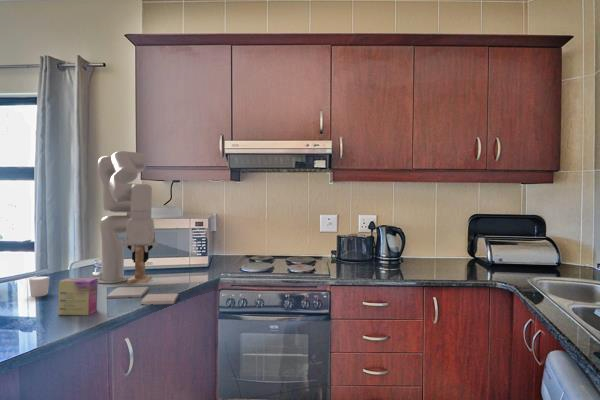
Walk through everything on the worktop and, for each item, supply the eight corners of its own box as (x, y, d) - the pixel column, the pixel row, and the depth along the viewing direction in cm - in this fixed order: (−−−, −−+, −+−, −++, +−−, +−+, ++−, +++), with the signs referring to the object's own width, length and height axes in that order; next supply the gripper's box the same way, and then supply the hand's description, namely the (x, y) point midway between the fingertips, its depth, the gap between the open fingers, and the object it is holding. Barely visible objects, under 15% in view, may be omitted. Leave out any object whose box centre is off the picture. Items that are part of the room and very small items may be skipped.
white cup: (46, 291, 150) (46, 275, 150) (51, 294, 146) (52, 277, 146) (26, 294, 145) (26, 277, 145) (31, 298, 141) (31, 280, 140)
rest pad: (106, 298, 142) (106, 295, 142) (117, 289, 155) (117, 287, 155) (140, 297, 145) (141, 294, 145) (148, 288, 157) (148, 286, 157)
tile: (140, 301, 135) (173, 300, 137) (147, 294, 144) (177, 293, 147) (140, 305, 135) (173, 304, 137) (147, 298, 144) (177, 297, 147)
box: (97, 310, 127) (97, 277, 127) (88, 315, 122) (89, 281, 122) (68, 310, 127) (68, 277, 127) (57, 315, 121) (58, 281, 121)
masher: (127, 283, 135) (128, 247, 135) (133, 279, 142) (133, 244, 142) (147, 283, 136) (147, 247, 136) (151, 278, 143) (152, 244, 143)
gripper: (115, 215, 134) (114, 264, 134) (160, 216, 137) (160, 263, 137) (121, 214, 141) (121, 260, 141) (164, 215, 144) (164, 260, 144)
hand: (140, 261), depth 139 cm, fingers closed on masher, 3 cm apart
